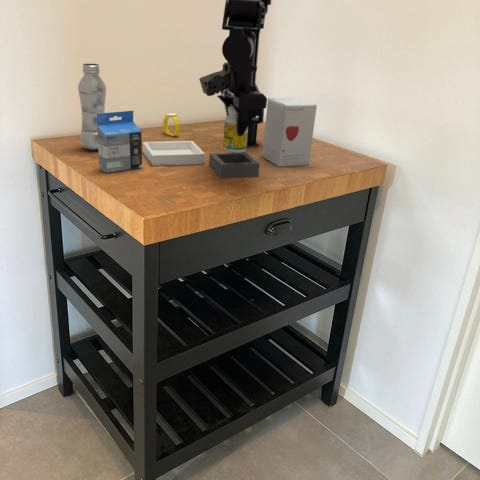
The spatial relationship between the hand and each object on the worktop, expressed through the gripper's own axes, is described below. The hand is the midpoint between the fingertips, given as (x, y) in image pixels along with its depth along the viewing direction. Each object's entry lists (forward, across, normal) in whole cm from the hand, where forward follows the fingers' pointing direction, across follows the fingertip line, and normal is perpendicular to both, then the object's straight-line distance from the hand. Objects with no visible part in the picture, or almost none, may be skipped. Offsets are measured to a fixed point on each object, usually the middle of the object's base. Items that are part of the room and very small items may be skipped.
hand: (235, 132), depth 117 cm
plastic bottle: (+9, -21, -29) cm, 37 cm away
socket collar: (+9, 0, 0) cm, 9 cm away
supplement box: (+9, -6, +16) cm, 19 cm away
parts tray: (+9, -12, -12) cm, 19 cm away
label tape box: (+9, -5, -25) cm, 27 cm away
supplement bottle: (+4, 0, 0) cm, 4 cm away
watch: (+9, -33, -7) cm, 35 cm away
